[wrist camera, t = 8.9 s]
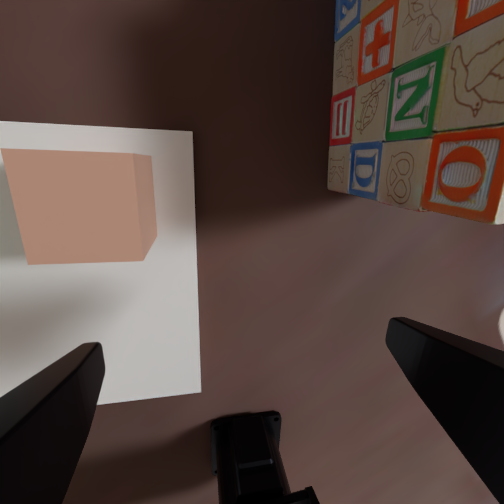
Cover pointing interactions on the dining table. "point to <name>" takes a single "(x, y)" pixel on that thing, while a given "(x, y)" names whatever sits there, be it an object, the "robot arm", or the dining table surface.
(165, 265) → the board
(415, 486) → the dining table surface
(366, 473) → the dining table surface
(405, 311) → the dining table surface
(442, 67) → the stack of blocks
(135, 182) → the terracotta cube
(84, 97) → the dining table surface
